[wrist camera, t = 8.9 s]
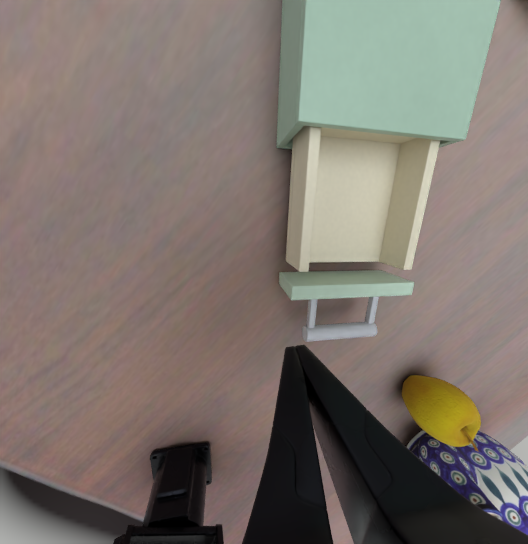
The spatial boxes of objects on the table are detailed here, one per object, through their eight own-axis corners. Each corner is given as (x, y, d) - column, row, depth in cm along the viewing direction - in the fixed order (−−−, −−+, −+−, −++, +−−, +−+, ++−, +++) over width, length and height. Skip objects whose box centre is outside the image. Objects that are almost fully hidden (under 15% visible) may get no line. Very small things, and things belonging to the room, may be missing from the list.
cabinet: (401, 158, 20) (466, 139, 15) (276, 148, 18) (298, 121, 13) (439, -46, 16) (545, -173, 11) (285, -91, 14) (323, -277, 9)
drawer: (372, 320, 24) (400, 342, 20) (276, 327, 22) (287, 352, 18) (405, 138, 19) (452, 119, 15) (286, 126, 17) (305, 100, 13)
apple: (412, 406, 30) (475, 472, 23) (381, 393, 28) (438, 460, 21) (440, 371, 29) (516, 427, 22) (410, 355, 27) (481, 411, 20)
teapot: (491, 451, 37) (652, 596, 23) (424, 502, 38) (541, 673, 24) (439, 372, 29) (637, 521, 15) (354, 439, 30) (469, 640, 16)
